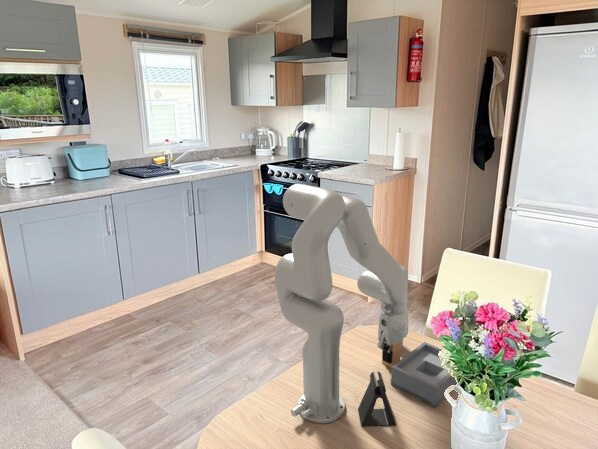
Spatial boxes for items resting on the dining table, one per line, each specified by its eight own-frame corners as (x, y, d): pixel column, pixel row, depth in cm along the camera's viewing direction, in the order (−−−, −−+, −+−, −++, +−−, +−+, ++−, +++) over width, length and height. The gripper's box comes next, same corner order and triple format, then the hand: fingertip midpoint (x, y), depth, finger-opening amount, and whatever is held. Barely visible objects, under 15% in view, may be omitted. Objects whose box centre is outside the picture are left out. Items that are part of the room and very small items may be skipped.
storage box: (435, 407, 116) (436, 388, 114) (390, 384, 125) (391, 366, 123) (465, 377, 128) (467, 359, 126) (423, 358, 137) (424, 341, 136)
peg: (392, 368, 133) (394, 339, 130) (382, 363, 135) (383, 334, 133) (400, 362, 135) (401, 334, 132) (389, 357, 138) (390, 329, 135)
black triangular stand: (391, 409, 115) (393, 370, 112) (396, 426, 109) (398, 385, 106) (357, 410, 115) (358, 371, 112) (360, 426, 110) (361, 386, 106)
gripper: (388, 319, 122) (385, 375, 127) (419, 299, 133) (416, 352, 138) (366, 310, 127) (365, 365, 132) (398, 292, 138) (396, 343, 143)
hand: (391, 357), depth 135 cm, fingers closed on peg, 4 cm apart
